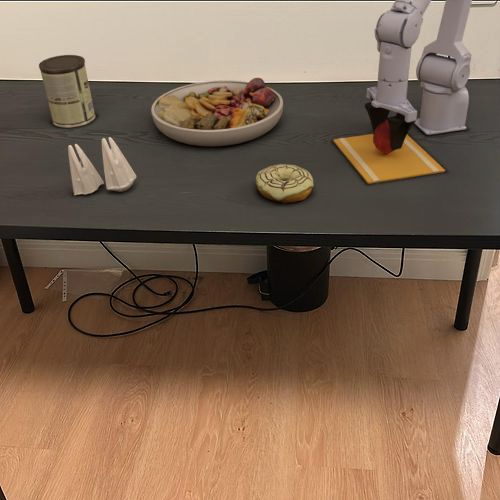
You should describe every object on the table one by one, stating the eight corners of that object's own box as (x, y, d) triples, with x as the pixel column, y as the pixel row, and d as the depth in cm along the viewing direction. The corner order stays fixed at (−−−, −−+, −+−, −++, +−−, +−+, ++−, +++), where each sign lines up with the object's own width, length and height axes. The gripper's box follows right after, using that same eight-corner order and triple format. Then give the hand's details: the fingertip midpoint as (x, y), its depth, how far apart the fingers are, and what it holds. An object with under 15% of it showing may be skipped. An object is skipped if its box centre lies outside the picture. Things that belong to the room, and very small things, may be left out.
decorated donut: (279, 212, 114) (278, 194, 112) (245, 189, 121) (244, 171, 119) (323, 193, 118) (324, 176, 116) (289, 172, 126) (288, 155, 124)
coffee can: (50, 115, 156) (37, 58, 148) (92, 108, 158) (82, 52, 150) (53, 131, 148) (39, 72, 140) (98, 123, 150) (86, 65, 142)
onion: (400, 161, 127) (404, 124, 123) (371, 159, 128) (373, 123, 124) (400, 148, 132) (404, 112, 127) (372, 147, 133) (375, 111, 128)
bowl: (207, 166, 130) (204, 130, 125) (129, 124, 149) (123, 92, 144) (310, 122, 145) (310, 89, 141) (227, 90, 164) (225, 60, 160)
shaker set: (138, 184, 125) (130, 132, 118) (134, 194, 121) (125, 142, 115) (78, 185, 125) (67, 133, 119) (73, 196, 122) (60, 143, 116)
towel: (401, 131, 140) (402, 129, 139) (445, 172, 124) (445, 169, 123) (333, 141, 137) (333, 139, 137) (367, 184, 121) (368, 182, 121)
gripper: (355, 69, 125) (351, 133, 133) (397, 93, 114) (390, 161, 122) (385, 63, 127) (380, 126, 135) (429, 86, 116) (421, 153, 124)
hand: (387, 142), depth 129 cm, fingers closed on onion, 6 cm apart
